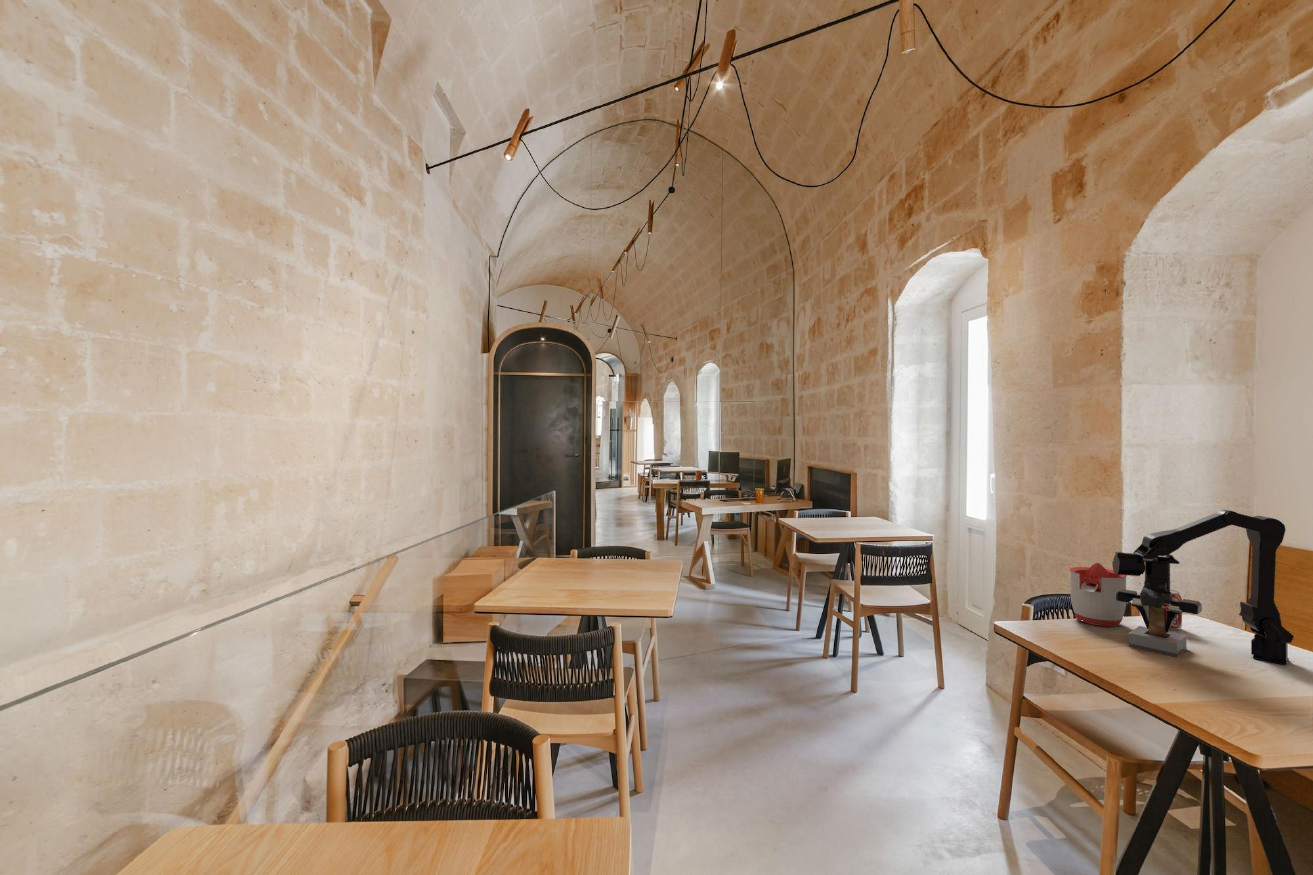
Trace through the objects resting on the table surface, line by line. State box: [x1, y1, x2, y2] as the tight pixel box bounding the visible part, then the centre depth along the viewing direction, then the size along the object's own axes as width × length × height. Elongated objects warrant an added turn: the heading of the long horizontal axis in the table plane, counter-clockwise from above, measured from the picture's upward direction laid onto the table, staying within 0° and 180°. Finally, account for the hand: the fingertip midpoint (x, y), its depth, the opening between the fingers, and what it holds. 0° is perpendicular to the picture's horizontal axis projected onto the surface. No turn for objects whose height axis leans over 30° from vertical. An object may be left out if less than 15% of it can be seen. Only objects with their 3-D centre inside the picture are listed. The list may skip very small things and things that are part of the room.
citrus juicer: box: [1069, 562, 1128, 628], centre depth 199 cm, size 16×17×20 cm
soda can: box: [1163, 589, 1183, 631], centre depth 194 cm, size 7×7×12 cm
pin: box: [1149, 606, 1167, 638], centre depth 175 cm, size 4×4×10 cm
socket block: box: [1128, 625, 1187, 658], centre depth 175 cm, size 11×11×4 cm
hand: (1157, 630), depth 175 cm, fingers closed on pin, 4 cm apart
